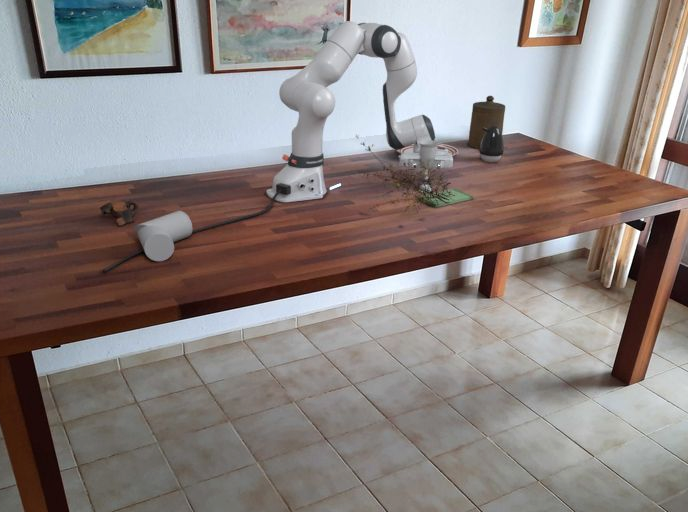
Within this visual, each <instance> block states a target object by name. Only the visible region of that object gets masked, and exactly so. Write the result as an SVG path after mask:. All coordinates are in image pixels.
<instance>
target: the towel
mask: <svg viewBox="0 0 688 512" xmlns="http://www.w3.org/2000/svg"><path fill="white" fill-rule="evenodd" d="M451 190H452V191H451ZM441 191H442V190H441ZM445 191H446V192H447V191H448V192H451V193H450V194H452V195H450V196H452V197H449V198H448V197H445V196H443V197H445V198H447V199H449V200H446V199H442V198H441V199H442V200H443V201H445V202H449V204H447V203H445V202H443V201H441V200H440V201H441V202H440V201H439V199H438V198H439V197H438V198H436V200H438V203H437V202H436V201H435V199H430V198H429V201H430V200H431V201H432V202H431V201H430V203H429V201H428V200H427V198H424V199H423V200H422V199H421V200H420V202H421V201H424V200H425V202H423V204H424V203H426V204H425V205H428V206H431V207H433V208H439V207H444V206H449V205H452V204H457V203H461V202H465V201H470V200H473V198H474V196H473V195H472V194H469V193H467V192H465V191H462V190H460V189H457V188H451V189H447V190H446V189H445V190H444V192H443V191H442V192H440V191H439V192H438V191H437V192H438V193H441V194H442V193H443V194H445V193H446V192H445ZM433 193H434V194H436V193H435V192H433ZM438 193H437V194H438ZM434 194H433V195H434ZM441 194H439V195H441ZM445 195H447V196H448V195H449V193H447V194H445ZM453 195H455V196H453ZM420 196H421V195H420ZM426 196H427V194H426ZM435 196H436V195H435ZM441 196H442V195H441ZM421 197H423V196H421ZM421 197H420V198H421ZM429 197H430V196H429ZM431 197H432V196H431ZM450 198H451V199H450ZM452 199H453V200H452ZM454 200H455V201H454ZM427 201H428V202H427Z"/></svg>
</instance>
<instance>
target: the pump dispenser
mask: <svg viewBox="0 0 688 512" xmlns="http://www.w3.org/2000/svg"><path fill="white" fill-rule="evenodd" d="M482 130H484V131H486V132H485V134H484V136H483V139H482V142H481V145H480V149H478V153H479V157H480V159H481V161H483V162H484V163H489V164H495V163H497V162H499V161H500V160H501V159H502V157H503V155H504V137H503V132H502V133H501V130H500V128H499V127H498V126H496V125H492V126H490V127H489V128H488V129H487V128H484V127H482Z"/></svg>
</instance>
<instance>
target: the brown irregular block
mask: <svg viewBox="0 0 688 512" xmlns="http://www.w3.org/2000/svg"><path fill="white" fill-rule="evenodd" d="M131 206H133V208H132V210H131ZM99 209H100V215H101V216H102V217H104V216H105V215H112V216H113V217H114V218H116V217H117V216H118V215H120V217H119V218H117V219H116V223H117V224H118V226H119V227H121V226H123V225H125V224H129V223H132V222H133V218H134V215H135V214H137V212H138V210H139V204H138V203H137V201H136V200H131V199H130V200H128V201H122V199H121V198H116V199H114V200H111V201H109V202H107V203H105V204H103V205H102V206H100V207H99Z"/></svg>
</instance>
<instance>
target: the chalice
mask: <svg viewBox="0 0 688 512" xmlns="http://www.w3.org/2000/svg"><path fill="white" fill-rule="evenodd" d="M419 143H420V145H421V147H420V158H421V162H423V161H424V162H423V163H422V164H423V167H427V168H426V170H424V171H425V172H424V177H423V179H424V178H425V176H426V175H427V176H426V178H425V179H424V180H428V179H427V178H429V175H428V173H427V172H428V169H430V168H431V166H432V164H433V162H434V160H435V157H436V150H437V145H438V143H439V141H435V140H434V141H432V140H424V141H420V142H419ZM429 156H430V157H429ZM429 160H430V161H429ZM428 161H429V162H428ZM427 165H429V167H428V166H427ZM426 171H427V172H426ZM423 183H425V182H423ZM423 183H421V184H422V185H419V186H420V187H422V188H420V189H423V188H424V189H423V190H425V186H426V191H427V189H428V187H429V186H430V185H429V184H428V185H429V186H428V185H426V184H425V185H424V184H423ZM430 187H431V186H430ZM430 187H429V188H430ZM431 189H432V188H430V189H428V190H430V192H431V191H433V189H432V190H431ZM419 191H420V190H419ZM428 192H429V191H428ZM421 193H423V191H422V192H421ZM424 193H425V192H424ZM425 194H426V193H425Z"/></svg>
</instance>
